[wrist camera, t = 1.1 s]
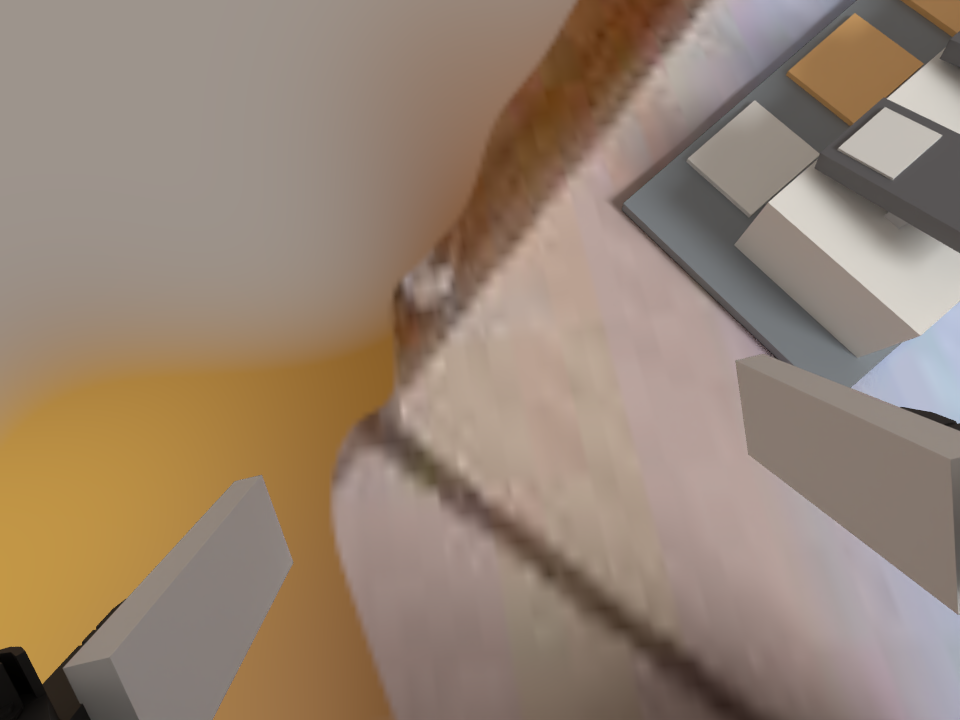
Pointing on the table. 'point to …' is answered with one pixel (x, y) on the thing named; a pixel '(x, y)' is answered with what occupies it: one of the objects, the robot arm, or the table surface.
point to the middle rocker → (952, 51)
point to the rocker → (901, 168)
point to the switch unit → (815, 197)
